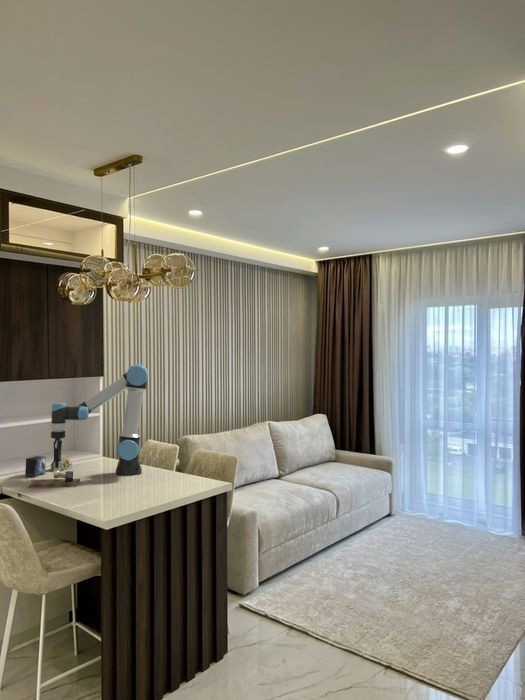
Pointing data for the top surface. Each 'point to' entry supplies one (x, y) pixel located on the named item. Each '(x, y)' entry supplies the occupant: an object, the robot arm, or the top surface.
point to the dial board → (54, 483)
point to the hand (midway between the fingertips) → (56, 473)
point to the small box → (35, 466)
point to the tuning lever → (64, 475)
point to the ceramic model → (62, 463)
